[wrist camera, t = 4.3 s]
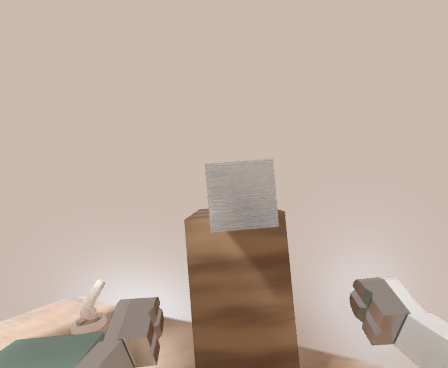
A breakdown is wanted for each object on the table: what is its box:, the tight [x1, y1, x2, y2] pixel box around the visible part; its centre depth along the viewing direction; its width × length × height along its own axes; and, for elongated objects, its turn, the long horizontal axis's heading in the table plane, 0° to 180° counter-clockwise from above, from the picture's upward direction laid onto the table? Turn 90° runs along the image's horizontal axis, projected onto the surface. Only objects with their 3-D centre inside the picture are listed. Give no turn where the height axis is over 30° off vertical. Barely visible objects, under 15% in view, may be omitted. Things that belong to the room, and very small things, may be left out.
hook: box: [71, 279, 108, 335], centre depth 59 cm, size 8×12×7 cm
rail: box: [205, 159, 279, 233], centre depth 28 cm, size 28×4×4 cm, turn 1°
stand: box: [184, 209, 299, 368], centre depth 32 cm, size 18×10×26 cm, turn 1°
